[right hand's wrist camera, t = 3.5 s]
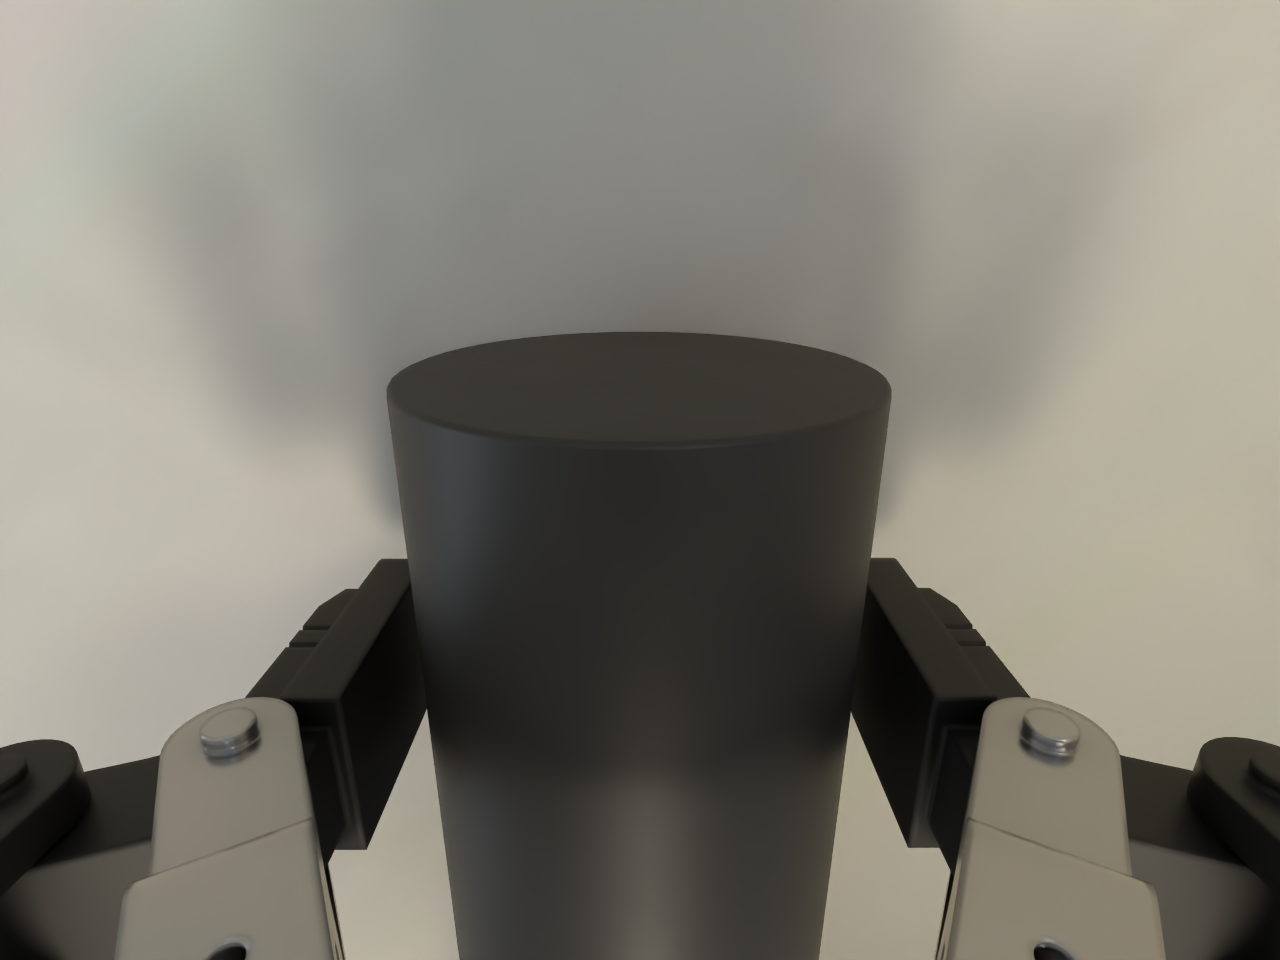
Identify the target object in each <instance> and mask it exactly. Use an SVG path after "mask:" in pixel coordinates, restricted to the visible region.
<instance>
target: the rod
mask: <svg viewBox="0 0 1280 960" xmlns="http://www.w3.org/2000/svg"><path fill="white" fill-rule="evenodd" d="M387 402H388V410H389V418H390V425H391V433H392V441H393V449H394V456H395V464H396V472H397V479H398V487H399V495H400V503H401V510H402V518H403V526H404V534H405V541H406V549H407V557H408V564H409V572H410V580H411V588H412V595H413V603H414V611H415V618H416V626H417V634H418V642H419V649H420V657H421V665H422V673H423V680H424V688H425V696H426V703H427V711H428V719H429V727H430V734H431V742H432V750H433V757H434V765H435V773H436V781H437V788H438V796H439V804H440V812H441V819H442V827H443V835H444V842H445V850H446V858H447V866H448V873H449V881H450V889H451V896H452V904H453V912H454V920H455V927H456V935H457V943H458V951H459V958H460V960H819V953H820V945H821V937H822V930H823V922H824V914H825V906H826V899H827V891H828V883H829V875H830V868H831V860H832V852H833V844H834V837H835V829H836V821H837V813H838V806H839V798H840V790H841V782H842V775H843V767H844V759H845V752H846V744H847V736H848V728H849V721H850V713H851V705H852V697H853V690H854V682H855V674H856V666H857V659H858V651H859V643H860V635H861V628H862V620H863V612H864V605H865V597H866V589H867V581H868V574H869V566H870V558H871V550H872V543H873V535H874V527H875V519H876V512H877V504H878V496H879V488H880V481H881V473H882V465H883V458H884V450H885V442H886V434H887V427H888V419H889V411H890V403H891V387H890V384H889V383H888V381H887V379H886V378H885V377H884V376H883V375H882V374H880V373H879V372H878V371H877V370H875V369H873V368H871V367H869V366H868V365H866V364H863V363H861V362H858V361H856V360H853V359H851V358H848V357H845V356H842V355H839V354H836V353H832V352H828V351H824V350H820V349H816V348H812V347H807V346H802V345H797V344H791V343H785V342H778V341H772V340H764V339H756V338H747V337H737V336H726V335H713V334H696V333H672V332H606V333H582V334H565V335H552V336H541V337H531V338H522V339H514V340H506V341H500V342H493V343H487V344H481V345H476V346H471V347H466V348H462V349H458V350H454V351H450V352H446V353H442V354H439V355H436V356H433V357H430V358H427V359H425V360H422V361H420V362H417V363H415V364H413V365H411V366H409V367H407V368H405V369H403V370H402V371H400V372H399V373H398V374H396V375H395V376H394V377H393V378H392V379H391V381H390V383H389V385H388V387H387Z"/></svg>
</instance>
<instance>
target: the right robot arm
mask: <svg viewBox="0 0 1280 960" xmlns="http://www.w3.org/2000/svg"><path fill="white" fill-rule="evenodd" d="M426 709H427V703H426V696H425V688H424V680H423V673H422V665H421V657H420V649H419V642H418V634H417V626H416V618H415V611H414V603H413V595H412V588H411V580H410V572H409V564H408V559H381V560H380V561H379V562H378V563H377V564H376V566H375V567H374V568H373V570H372V571H371V572H370V574H369V575H368V576H367V578H366V579H365V580H364V582H363V583H362V585H361V586H360V587H359V589H345V590H344V591H342V592H341V593H339V594H338V595H336V596H334V597H333V598H331V599H330V600H328V601H326V602H325V603H323V604H322V605H320V606H319V607H318V608H317V609H316V611H315V612H314V613H313V614H312V616H311V617H310V618H309V619H308V621H307V622H306V623H305V624H304V625H303V630H299V632H298V633H297V634H296V635H295V637H294V638H293V639H292V640H291V642H290V643H289V647H286V648H285V649H284V650H283V651H282V653H281V654H280V655H279V656H278V658H277V659H276V660H275V661H274V663H273V664H272V665H271V666H270V668H269V669H268V670H267V671H266V672H265V674H264V675H263V676H262V677H261V679H260V680H259V681H258V682H257V684H256V685H255V686H254V687H253V689H252V690H251V691H250V692H249V693H248V695H247V696H246V697H245V698H244V699H239V700H235V701H231V702H227V703H224V704H221V705H218V706H216V707H213V708H211V709H209V710H206V711H205V712H203V713H201V714H199V715H197V716H195V717H194V718H192V719H190V720H189V721H187V722H186V723H185V724H183V725H182V726H181V727H179V728H178V729H177V730H176V731H175V732H174V733H173V734H172V735H171V736H170V737H169V739H168V740H167V741H166V743H165V744H164V746H163V748H162V750H161V754H160V755H159V756H155V757H152V758H148V759H143V760H139V761H134V762H129V763H125V764H120V765H115V766H110V767H106V768H101V769H96V770H92V771H87V772H84V771H83V768H82V765H81V763H80V760H79V757H78V754H77V752H76V750H75V748H74V747H73V746H71V745H70V744H69V743H66V742H63V741H59V740H33V741H26V742H21V743H16V744H13V745H9V746H5V747H2V748H0V960H346V958H345V952H344V946H343V940H342V935H341V929H340V923H339V918H338V912H337V906H336V901H335V895H334V889H333V884H332V879H331V874H330V870H329V865H328V863H329V860H330V858H331V856H332V854H333V852H334V850H367V848H368V845H369V843H370V841H371V838H372V836H373V834H374V831H375V829H376V827H377V824H378V822H379V820H380V817H381V815H382V812H383V810H384V808H385V805H386V803H387V801H388V798H389V796H390V794H391V791H392V789H393V787H394V784H395V782H396V780H397V777H398V775H399V773H400V770H401V768H402V766H403V763H404V761H405V759H406V756H407V754H408V752H409V749H410V747H411V745H412V742H413V740H414V738H415V735H416V733H417V731H418V728H419V726H420V724H421V721H422V719H423V716H424V714H425V712H426ZM851 713H852V715H853V718H854V720H855V722H856V725H857V727H858V729H859V732H860V734H861V737H862V739H863V741H864V744H865V746H866V749H867V751H868V753H869V756H870V758H871V760H872V763H873V765H874V768H875V770H876V772H877V775H878V777H879V779H880V782H881V784H882V787H883V789H884V791H885V794H886V796H887V798H888V801H889V803H890V806H891V808H892V810H893V813H894V815H895V818H896V820H897V822H898V825H899V827H900V829H901V832H902V834H903V837H904V839H905V841H906V844H907V846H908V848H940V849H941V851H942V853H943V856H944V858H945V860H946V862H947V864H948V866H949V868H950V874H949V879H948V884H947V889H946V895H945V901H944V906H943V912H942V918H941V923H940V929H939V935H938V940H937V946H936V952H935V958H934V960H1280V747H1279V746H1276V745H1273V744H1269V743H1266V742H1262V741H1258V740H1253V739H1247V738H1238V737H1223V738H1216V739H1213V740H1210V741H1208V742H1207V743H1205V744H1204V745H1203V746H1202V748H1201V749H1200V752H1199V755H1198V758H1197V761H1196V764H1195V766H1194V769H1193V771H1191V770H1186V769H1182V768H1177V767H1172V766H1168V765H1163V764H1158V763H1153V762H1149V761H1144V760H1139V759H1135V758H1130V757H1126V756H1122V755H1120V754H1119V750H1118V748H1117V746H1116V744H1115V743H1114V741H1113V740H1112V739H1111V737H1110V736H1109V735H1108V734H1107V733H1106V732H1105V731H1104V730H1103V729H1102V728H1101V727H1099V726H1098V725H1097V724H1095V723H1094V722H1093V721H1091V720H1090V719H1088V718H1086V717H1085V716H1083V715H1081V714H1079V713H1077V712H1075V711H1074V710H1071V709H1069V708H1067V707H1064V706H1062V705H1059V704H1056V703H1053V702H1049V701H1045V700H1041V699H1035V698H1030V696H1029V695H1028V694H1027V693H1026V691H1025V690H1024V689H1023V688H1022V686H1021V685H1020V684H1019V683H1018V681H1017V680H1016V679H1015V678H1014V676H1013V675H1012V674H1011V673H1010V671H1009V670H1008V669H1007V668H1006V666H1005V665H1004V664H1003V663H1002V661H1001V660H1000V659H999V658H998V656H997V655H996V654H995V653H994V651H993V650H992V649H991V648H990V646H986V641H985V640H984V639H983V638H982V636H981V635H980V634H979V633H978V631H977V630H976V629H973V628H972V624H971V623H970V621H969V620H968V619H967V618H966V616H965V615H964V614H963V613H962V611H961V610H960V609H959V608H958V606H957V605H955V604H954V603H952V602H951V601H949V600H948V599H946V598H944V597H943V596H941V595H940V594H938V593H937V592H935V591H933V590H932V589H930V588H917V587H916V585H915V584H914V583H913V581H912V580H911V579H910V577H909V576H908V575H907V573H906V572H905V570H904V569H903V568H902V566H901V565H900V564H899V562H898V561H897V560H896V559H895V558H870V566H869V574H868V581H867V589H866V597H865V605H864V612H863V620H862V628H861V635H860V643H859V651H858V659H857V666H856V674H855V682H854V690H853V697H852V705H851Z"/></svg>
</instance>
